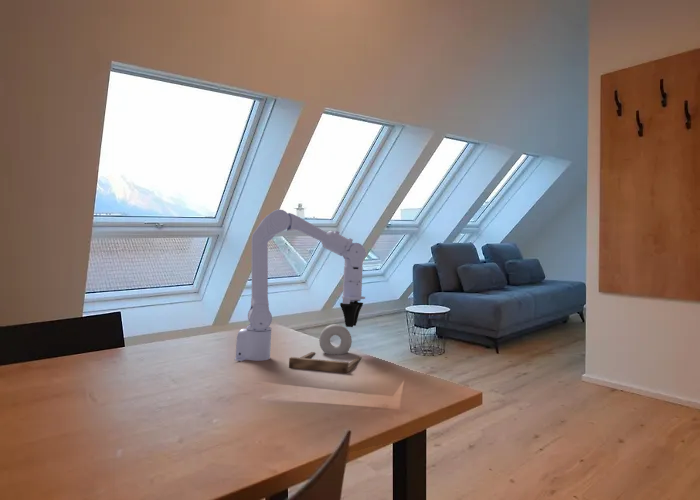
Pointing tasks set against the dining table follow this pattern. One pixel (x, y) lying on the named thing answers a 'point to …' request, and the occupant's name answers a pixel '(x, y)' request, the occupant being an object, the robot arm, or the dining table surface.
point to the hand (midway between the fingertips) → (350, 326)
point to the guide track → (321, 364)
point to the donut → (332, 331)
